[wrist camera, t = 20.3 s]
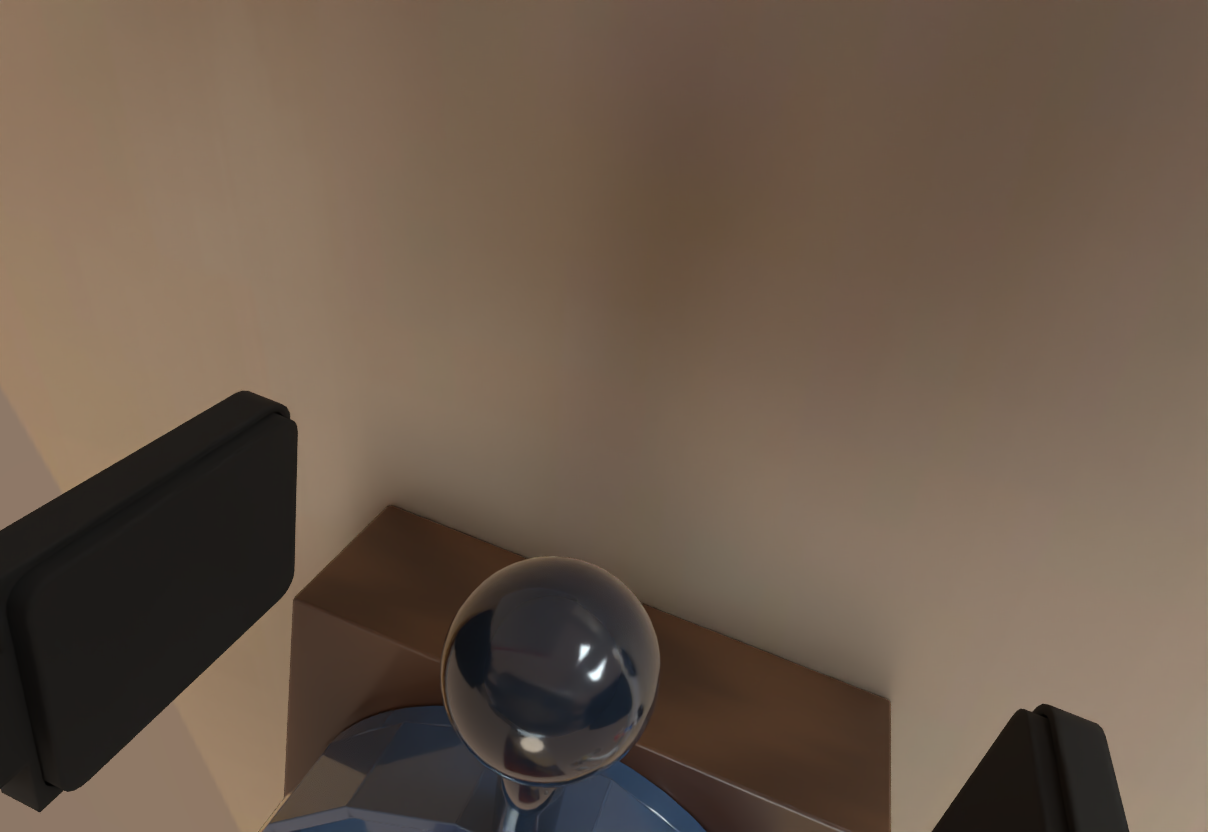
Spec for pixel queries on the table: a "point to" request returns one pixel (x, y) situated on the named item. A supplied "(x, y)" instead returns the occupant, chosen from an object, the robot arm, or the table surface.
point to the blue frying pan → (509, 722)
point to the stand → (676, 729)
